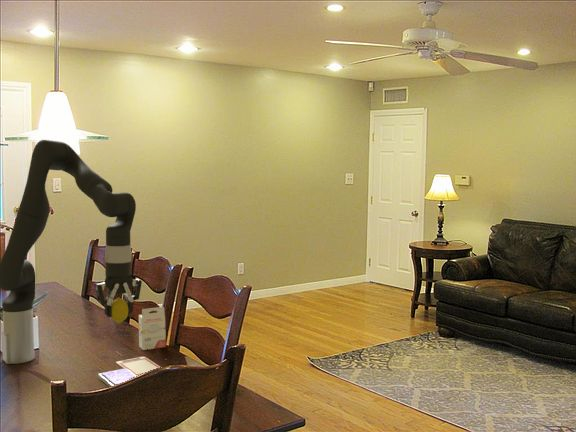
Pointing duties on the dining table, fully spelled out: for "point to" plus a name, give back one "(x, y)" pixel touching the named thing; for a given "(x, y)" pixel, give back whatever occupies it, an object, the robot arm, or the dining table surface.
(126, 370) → the ink pad
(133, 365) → the marked sheet
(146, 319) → the ink cartridge box
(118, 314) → the lemon
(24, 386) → the dining table surface
